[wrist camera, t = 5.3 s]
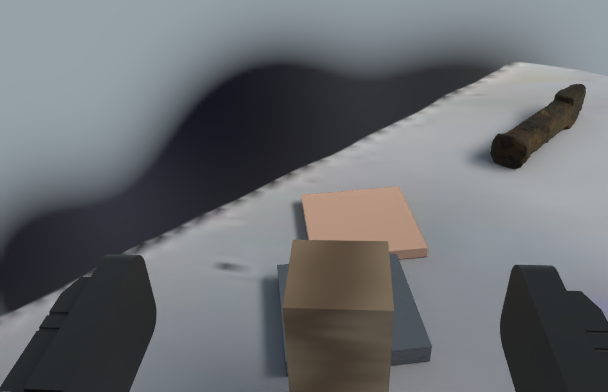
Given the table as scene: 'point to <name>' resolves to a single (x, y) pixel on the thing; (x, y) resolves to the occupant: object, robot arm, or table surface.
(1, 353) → the table surface
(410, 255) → the tile
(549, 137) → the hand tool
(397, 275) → the hole plate
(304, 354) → the walnut block
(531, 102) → the table surface
